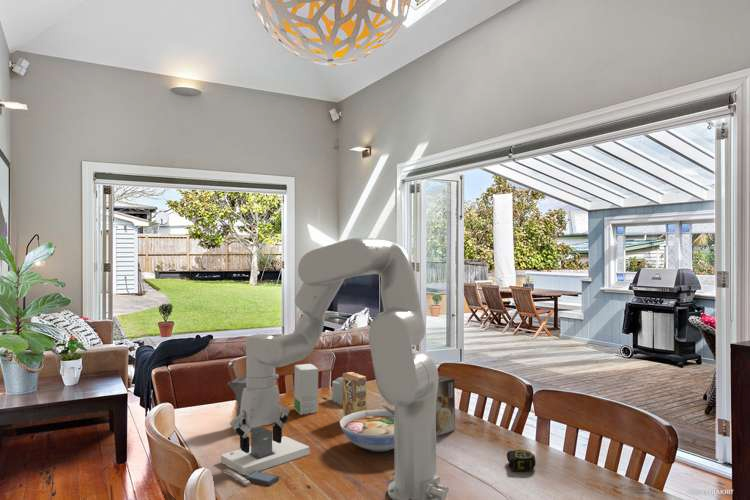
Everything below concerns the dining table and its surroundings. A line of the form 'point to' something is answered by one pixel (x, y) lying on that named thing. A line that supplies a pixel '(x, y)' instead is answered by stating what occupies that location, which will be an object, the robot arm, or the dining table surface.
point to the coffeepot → (239, 394)
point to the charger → (261, 443)
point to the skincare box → (306, 389)
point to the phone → (262, 478)
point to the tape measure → (521, 460)
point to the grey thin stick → (237, 476)
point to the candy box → (354, 393)
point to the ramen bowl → (370, 429)
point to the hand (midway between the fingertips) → (261, 446)
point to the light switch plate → (280, 455)
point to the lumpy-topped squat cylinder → (339, 390)
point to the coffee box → (445, 406)
